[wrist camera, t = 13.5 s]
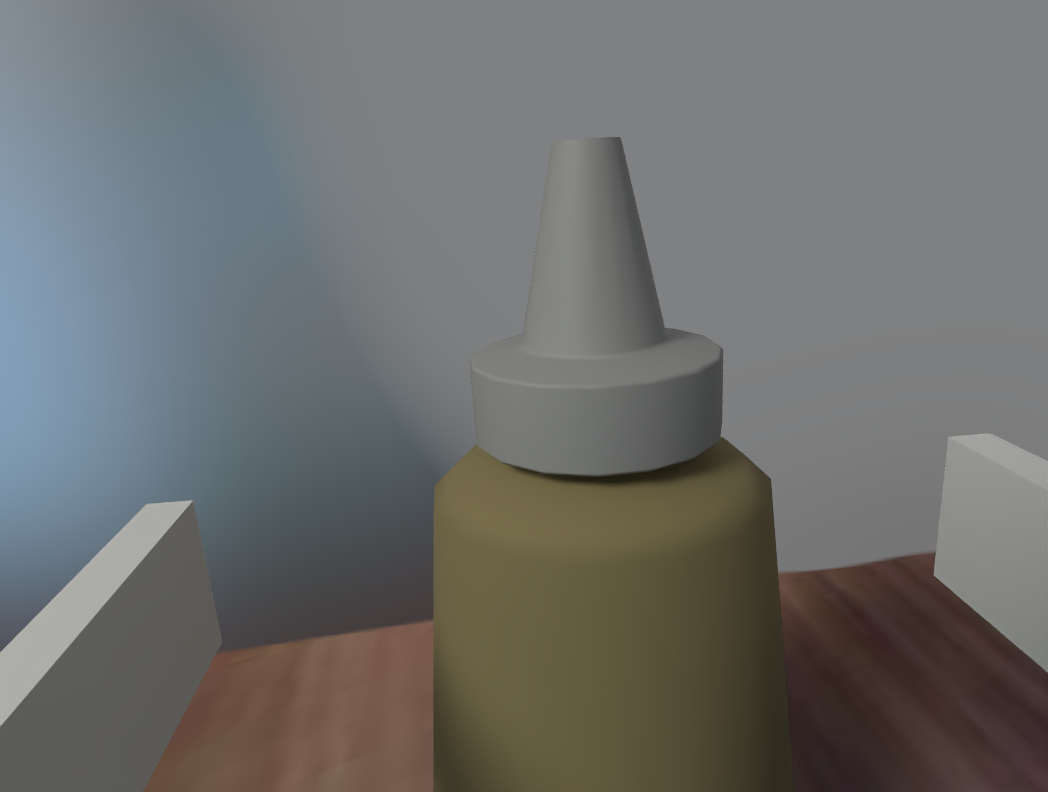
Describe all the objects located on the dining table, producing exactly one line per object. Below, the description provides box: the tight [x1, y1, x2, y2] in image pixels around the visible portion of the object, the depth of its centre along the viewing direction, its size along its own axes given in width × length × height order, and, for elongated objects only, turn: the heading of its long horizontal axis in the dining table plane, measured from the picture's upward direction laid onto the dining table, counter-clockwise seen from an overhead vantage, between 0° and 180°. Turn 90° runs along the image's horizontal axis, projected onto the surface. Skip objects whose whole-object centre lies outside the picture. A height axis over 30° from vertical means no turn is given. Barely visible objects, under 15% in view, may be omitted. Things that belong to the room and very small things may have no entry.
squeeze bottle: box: [434, 137, 795, 792], centre depth 15 cm, size 8×8×18 cm
